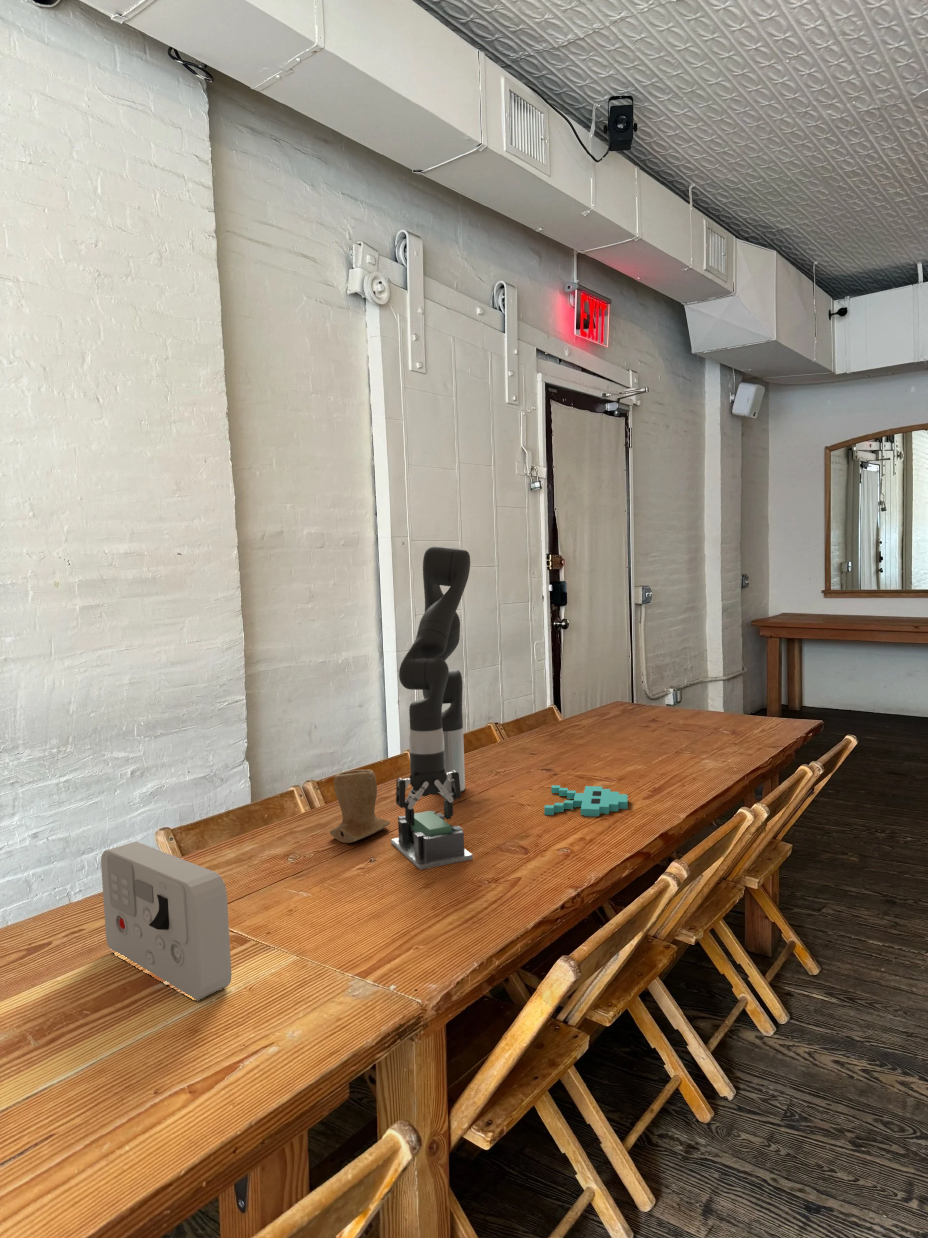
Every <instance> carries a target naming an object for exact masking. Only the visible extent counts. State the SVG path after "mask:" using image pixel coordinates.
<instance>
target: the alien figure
mask: <svg viewBox="0 0 928 1238" xmlns="http://www.w3.org/2000/svg"><path fill="white" fill-rule="evenodd" d="M551 793H559V794H558V797H559V796H567V797H566V800H565V799H564V801H563V802H554V804H553V805H552V804H551V805H550V804H545V805H544V810H543V811H544V812H543V813H544V814H543V815H544V816H554V814H555V813H559V812H563V811H564V812H565V810H564V809H573V810H574V808H576V807H581V808H580V816H581V815H584V816H583V817H597V816H599V817H600V814H601V813H604V814H603V815H610V812H619V810H628V806H629V805H628V801H629V799H628V794H625V793H620V791H611V788H603V786H602V785H601V786H600V785H599V786H595V785H594V786H593V785H592V786H591V785H585V787H584V791H583V792H577V790H569V787H561V785H556V784H555V785H554V784H553V785H551ZM568 798H569V799H568ZM570 799H574V800H570ZM573 807H574V808H573ZM564 812H563V813H564ZM601 815H602V814H601Z"/></svg>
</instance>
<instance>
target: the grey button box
mask: <svg viewBox="0 0 928 1238" xmlns="http://www.w3.org/2000/svg"><path fill="white" fill-rule="evenodd" d="M100 870H101V883H102V884H101V886H102V897H103V912H104V924H105V925H104V928H105V939H106V943H107V947H108V949H109V948H111V949H112V950H114V951H116V952H118V953H120V954H121V955H124V956H125V957H127V958H128V959H130V960H131V961H133V962H135V963H137V964H138V965H140V966H142V967H143V968H145V969H147V970H148V971H150V972H152V973H153V974H155V975H156V976H158V977H160V978H161V979H163V980H165V981H167V982H169V983H170V984H172V985H173V986H175V987H176V988H178V989H180V990H182V991H183V992H185V993H186V994H188V995H190V996H192V997H193V998H194V999H196V1000H199V1001H201V1000H203V999H205V998H204V997H206V996H208V995H210V994H212V993H214V992H216V991H218V990H220V989H222V988H224V987H226V986H227V987H229V985H230V984H231V983H232V975H233V974H232V962H231V961H232V958H231V943H230V942H231V941H230V925H229V907H228V892H227V887H226V883H225V881H224V879H223V877H222V876H221V875H220V874H219V873H218V872H216V871H215V870H212V869H208V868H205V867H204V866H201V865H199V864H196V863H194V862H193V863H192V862H190V861H188V860H186V859H183V858H181V857H178V856H174V855H172V854H170V853H167V852H164V851H162V850H159V849H156V848H154V847H152V846H149V845H146V844H143V843H141V842H138V841H133V842H129V843H126V844H122V845H119V846H115V847H112V848H110V849H106V850H104V851H103V853H102V854H101V859H100ZM227 987H226V988H227ZM224 989H225V988H224ZM222 990H223V989H222ZM220 991H221V990H220ZM218 992H219V991H218ZM216 993H217V992H216ZM214 994H215V993H214ZM212 995H213V994H212ZM210 996H211V995H210ZM208 997H209V996H208ZM202 998H203V999H202ZM206 998H207V997H206ZM200 999H201V1000H200Z"/></svg>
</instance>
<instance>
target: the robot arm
mask: <svg viewBox="0 0 928 1238" xmlns="http://www.w3.org/2000/svg"><path fill="white" fill-rule="evenodd" d="M470 570H471V555H470V553H469V551H467V550H465V549H462V548H454V547H449V546H442V545H441V546H440V545H431V546H429V547H427V548H426V550H425V552H424V555H423V560H422V578H423V580H422V581H423V591H424V613H423V615H422V617H421V618H420V621H419V625H418V629H417V632H416V637H415V640H414V642H413V643H412V645H411V647H410V648H409V650H408V651H407V653H406V654H405V656H404V657H403V659H402V662H401V664H400V666H399V670H398V671H399V672H398V678H399V681H400V682H399V683H400V684H401V685H402V687H403V688H404V689H406V690H413V691H415V690H421V691H422V696H423V699H419V700H414V701H412V702H411V703H410V704H409V706H408V707H409V709H408V712H409V713H408V714H409V736H408V737H409V738H408V739H409V766H410V769H409V770H410V775H409V777H408V778H401V777H397V778H396V781H395V782H396V783H395V785H396V787H395V790H396V791H395V803H396V805H397V806H399V808H400V809H404V811H405V812H404V814H405V815H404V816H405V818H406V822H407V823H408V824H409V825H410V826H414V825H415V822H414V813H415V809H414V806H415V805H416V803H417V802H418V801H420V799H421V797H428V796H430V795H432V796H435V795H438V794H440V796H442V797H443V799H444V800H443V815H444V817H445V819H446V820H451V819H452V817H453V815H454V801H456V800H457V799H460V798H461V797H462V792H463V791H464V790H466V783H465V782H466V781H465V780H466V778H465V777H466V776H465V772H466V771H465V746H464V743H465V741H464V724H463V723H464V722H463V693H464V691H463V689H464V688H463V684H464V682H463V676H462V675H463V674H462V673H461V672H460V670H459V669H449V666H448V663H447V662H446V660H447V659H448V658H449V657H450V656H451V655H452V653H454V652H455V650H456V649H457V647H458V645H459V642H460V640H461V639H460V637H461V633H460V632H461V620H460V617H459V613H457V610H458V607H459V605H460V602H461V600H462V597H463V594H464V591H465V588H466V586H467V583H468V580H469V575H470ZM441 586H443V587H449V588H448V590H447V591H446V592H445V593H443V591H442V588H441ZM444 704H445V705H446V704H450V705H449V707H447V709H445V710H443V705H444ZM442 710H443V711H442ZM409 785H410V786H411V787H412V788H411V789H410V791H409V793H408V795H407V797H406V790H407V789H408V786H409Z"/></svg>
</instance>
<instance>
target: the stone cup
mask: <svg viewBox="0 0 928 1238" xmlns="http://www.w3.org/2000/svg"><path fill="white" fill-rule="evenodd" d="M333 785H334V786H333V787H334V794H335V797H336V799H337V801H338V802H337V803H338V804H339V808H340V811H341V815H342V818H341V819H342V821H341V823H340V824H339V825H337V826H336V827H335V828H333V829H331V830H330V831H329V835H331V836H332V837H333V838H334V839H336V840H337V841H339V842H340V843H343V844H351V843H355V842H357V841H359V840H362V839H364V838H367V837H369V836H371V835H373V834H375V833H377V832H380V831H381V830H383V829H385V828H386V827H388V826H389V825H390V824H391V821H390V820H387V819H383V818H381V817H377V816H376V813H375V809H376V801H377V797H378V796H377V795H378V786H377V785H378V784H377V779H376V774H375V772H374V770H372V769H354V770H347V771H342V772H339V773H337V774H335V775H334V779H333Z"/></svg>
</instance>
